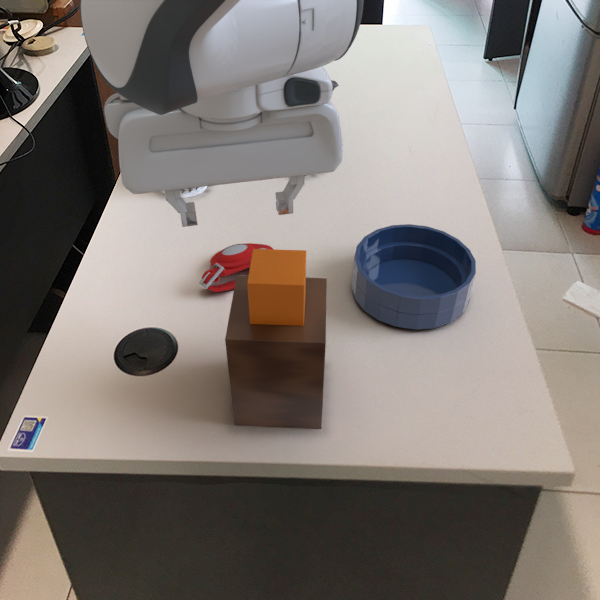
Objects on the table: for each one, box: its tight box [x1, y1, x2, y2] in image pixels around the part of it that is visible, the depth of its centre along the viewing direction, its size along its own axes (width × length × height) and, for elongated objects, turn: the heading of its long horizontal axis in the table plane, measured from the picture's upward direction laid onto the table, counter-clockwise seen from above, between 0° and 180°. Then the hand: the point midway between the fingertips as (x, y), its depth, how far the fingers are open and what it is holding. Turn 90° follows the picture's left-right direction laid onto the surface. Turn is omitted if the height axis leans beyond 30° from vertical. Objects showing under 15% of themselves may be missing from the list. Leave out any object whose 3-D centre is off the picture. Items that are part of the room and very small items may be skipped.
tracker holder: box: [199, 242, 274, 293], centre depth 91 cm, size 12×4×10 cm
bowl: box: [351, 223, 477, 330], centre depth 87 cm, size 16×16×6 cm
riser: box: [224, 274, 328, 430], centre depth 71 cm, size 10×10×14 cm
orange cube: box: [247, 248, 307, 326], centre depth 64 cm, size 6×6×6 cm
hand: (237, 217), depth 62 cm, fingers open, 8 cm apart
